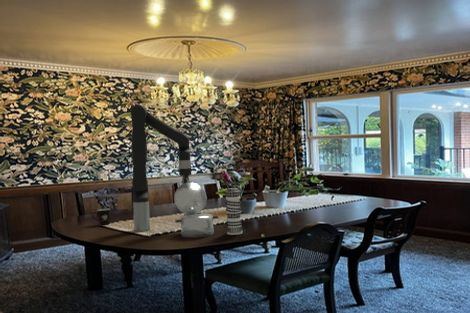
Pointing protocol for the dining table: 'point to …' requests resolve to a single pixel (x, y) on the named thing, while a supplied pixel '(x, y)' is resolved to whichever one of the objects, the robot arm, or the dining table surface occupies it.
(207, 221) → the cooking pot
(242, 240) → the dining table surface
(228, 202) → the decorative candle
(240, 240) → the dining table surface
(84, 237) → the dining table surface
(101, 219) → the coffee mug
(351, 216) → the dining table surface
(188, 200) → the pot lid
